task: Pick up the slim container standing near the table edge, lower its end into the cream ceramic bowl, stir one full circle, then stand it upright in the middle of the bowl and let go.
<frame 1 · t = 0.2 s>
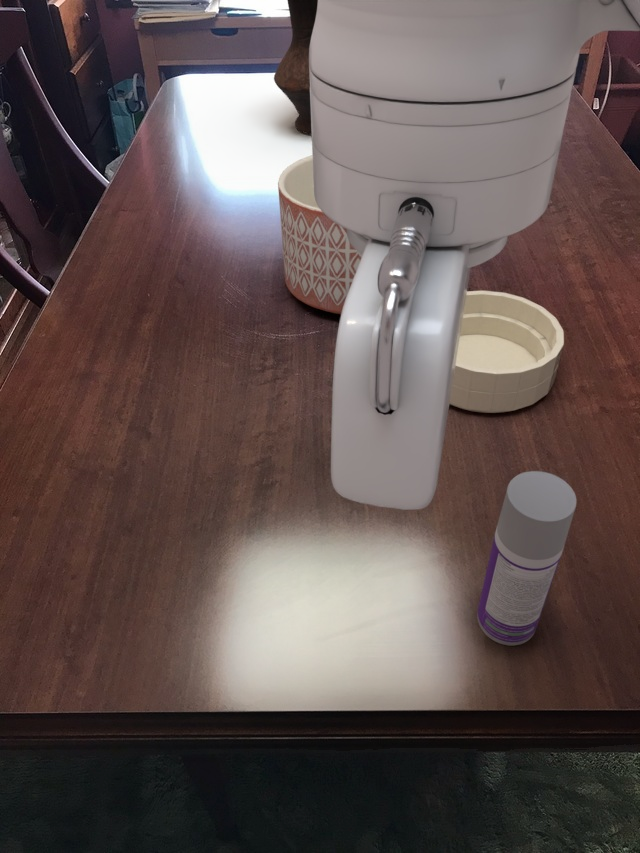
hand: (410, 427, 34), 26 cm above the table, tool pointing down, fingers open, 8 cm apart
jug: (326, 126, 139), on the table
bowl: (482, 372, 79), on the table
planter: (355, 286, 94), on the table
vase: (460, 133, 134), on the table
container: (505, 620, 55), on the table
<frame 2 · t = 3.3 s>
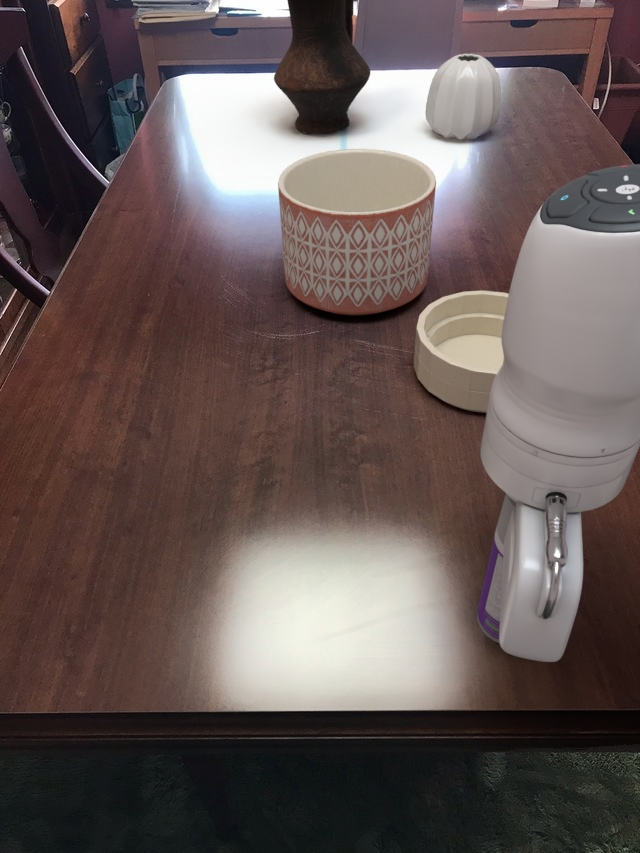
hand: (519, 574, 51), 6 cm above the table, tool pointing down, fingers closed on container, 4 cm apart
container: (505, 620, 55), on the table, touching gripper
everything else where it was.
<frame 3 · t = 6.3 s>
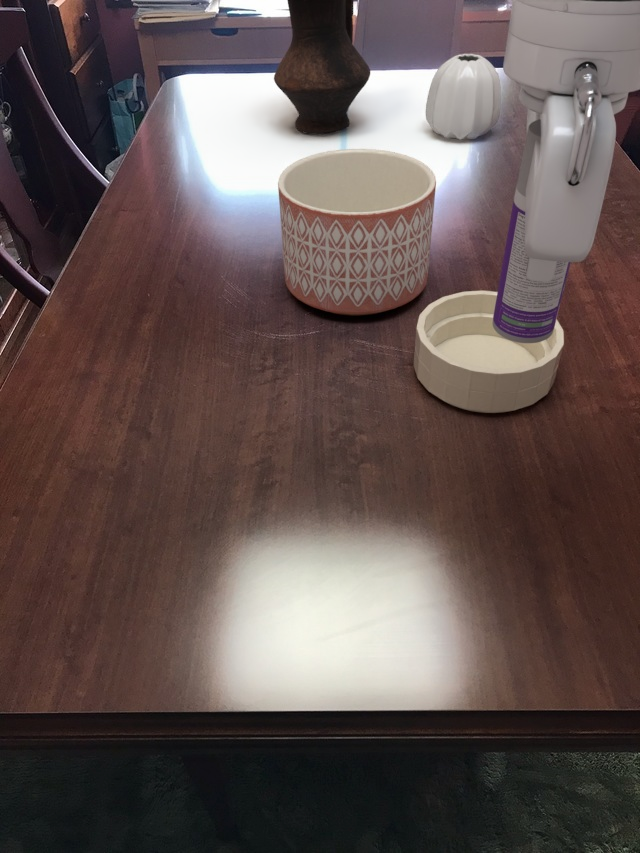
hand: (538, 255, 50), 24 cm above the table, tool pointing down, fingers closed on container, 4 cm apart
container: (522, 328, 54), point 18 cm above the table, touching gripper
everything else where it was.
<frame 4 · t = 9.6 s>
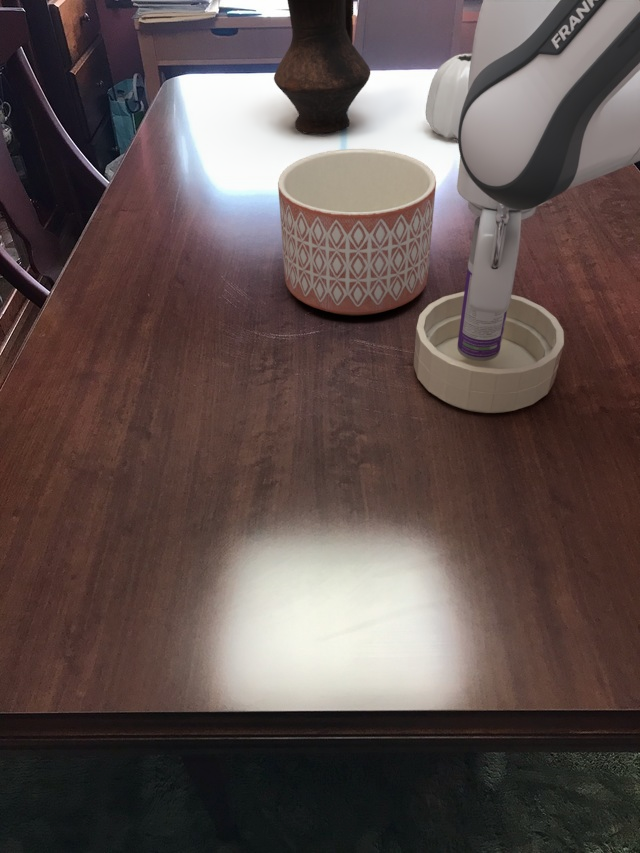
hand: (486, 301, 73), 9 cm above the table, tool pointing down, fingers closed on container, 4 cm apart
container: (478, 350, 77), point 3 cm above the table, touching gripper
everything else where it was.
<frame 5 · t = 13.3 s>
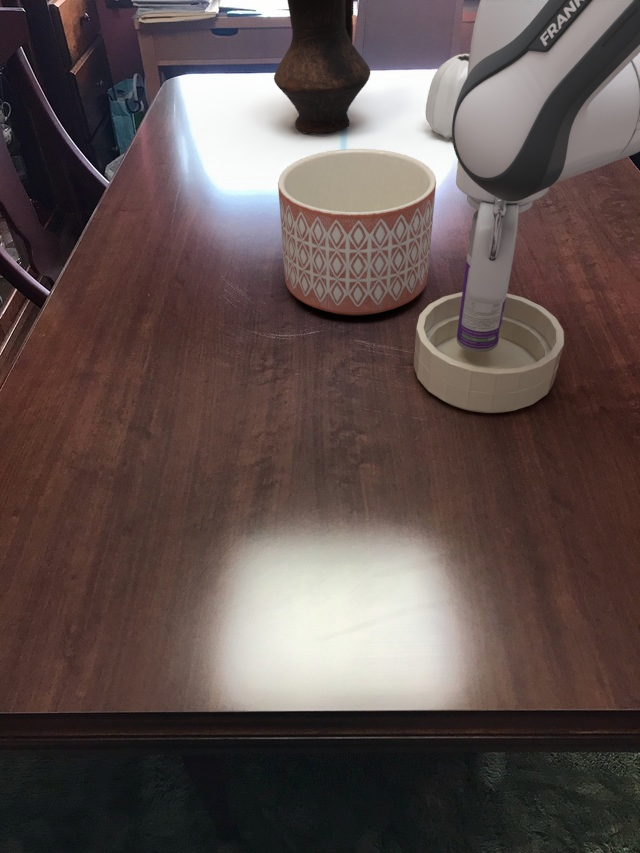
hand: (485, 294, 74), 9 cm above the table, tool pointing down, fingers closed on container, 4 cm apart
container: (476, 341, 79), point 3 cm above the table, touching gripper
everything else where it was.
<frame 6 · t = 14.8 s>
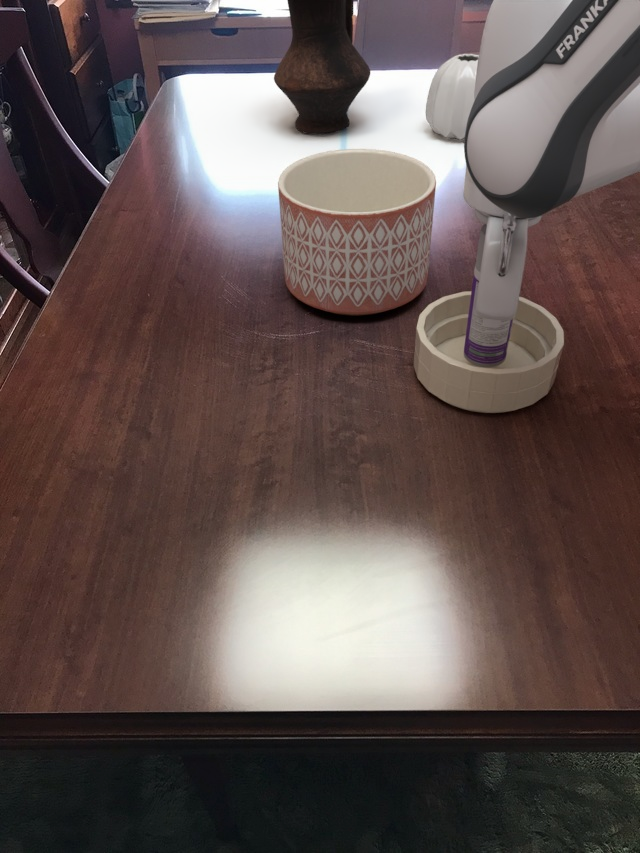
hand: (492, 308, 73), 9 cm above the table, tool pointing down, fingers closed on container, 4 cm apart
container: (484, 356, 77), point 2 cm above the table, touching gripper
everything else where it was.
when the fingers open (7 cm above the table, at t = 16.0 s): container stays where it is, resting on bowl.
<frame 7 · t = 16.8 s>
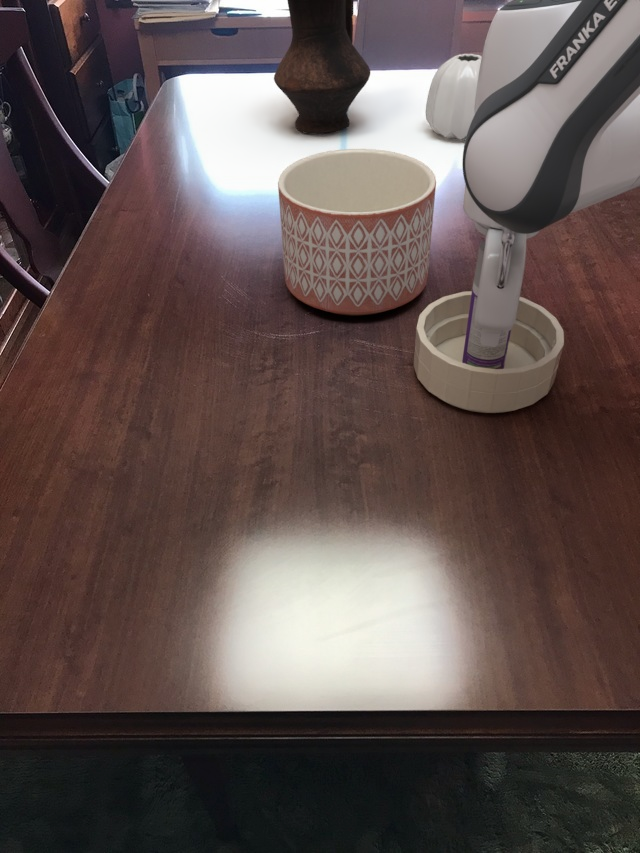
hand: (491, 317, 74), 7 cm above the table, tool pointing down, fingers open, 8 cm apart
container: (482, 368, 78), point 1 cm above the table, touching bowl
everything else where it was.
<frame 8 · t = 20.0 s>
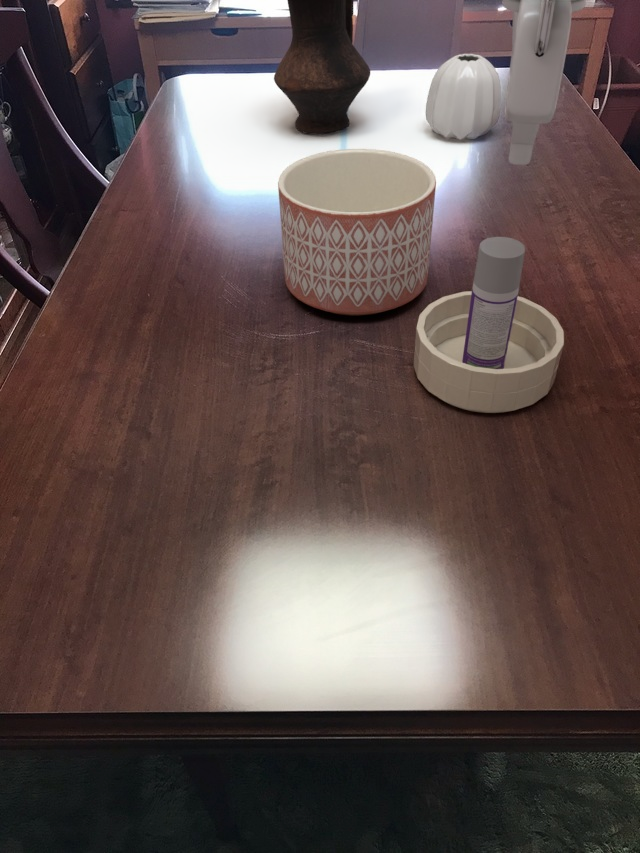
hand: (520, 141, 61), 26 cm above the table, tool pointing down, fingers open, 8 cm apart
nothing on the table moved.
at the end: container inside the target area in the bowl (0.1 cm from its centre), point 0.6 cm above the bowl's base; container tilted 0°; the gripper is holding nothing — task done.
